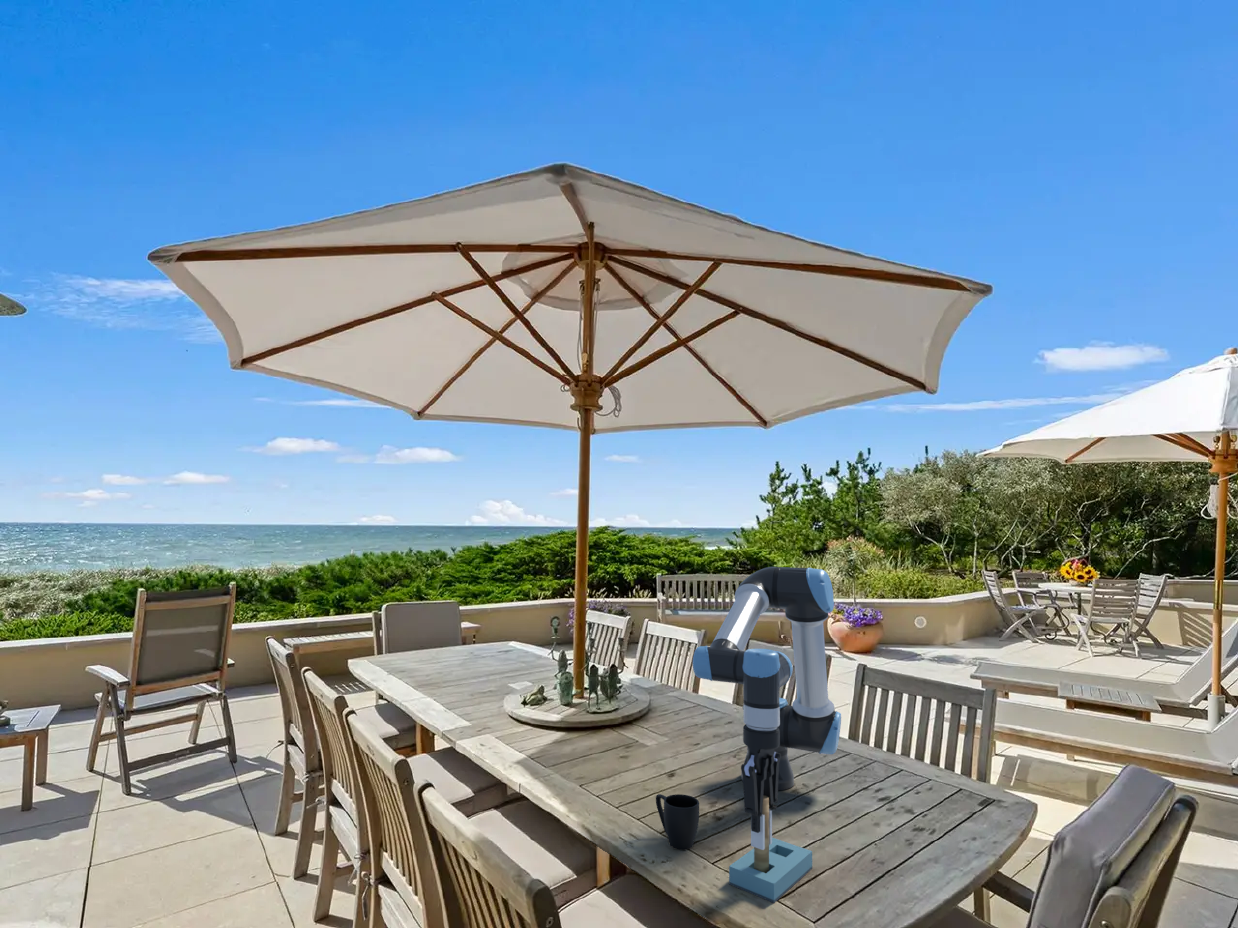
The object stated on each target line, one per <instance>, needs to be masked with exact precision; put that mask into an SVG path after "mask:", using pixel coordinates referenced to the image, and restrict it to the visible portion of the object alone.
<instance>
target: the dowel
mask: <svg viewBox="0 0 1238 928" xmlns="http://www.w3.org/2000/svg"><path fill="white" fill-rule="evenodd" d="M762 814H763V815H765V849H764V850H761V849H758V848H756V847H753V848H754V869H756V870H758V871H761V872H763V873H767V872H769V798H768V797H767V796H765V795H763V810H762Z"/></svg>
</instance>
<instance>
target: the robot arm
mask: <svg viewBox="0 0 1238 928" xmlns="http://www.w3.org/2000/svg"><path fill="white" fill-rule="evenodd" d="M834 602H835V600H834V590H833V585H832V581H831V578H830V575H829V573H828V572H826V570H824V569H821V568H812V567H790V566H789V567H786V566H783V567H782V566H769V567H768V566H767V567H764V568H762V569H759V570H756V571H755V572H753V573H751V574H749V576H747V577H746V578H745V579H743V581H742V582H740V584H739V586H738V587H737V589H736V590H735V593H734V602H733V604H732V606H731V607H730V609H729V611H728V613H727V615H726V617H725V619H724V621H723V622H722V624H721V626H720V628H719V629H718V631H717V634H716V635H715V637H714V639H713V641H712V642H711V644H710V645H709V646H708V645H704V646H703V645H700V646H698V647H696V649H694V652H693V657H692V669H693V673H694V675H695V677H696V678H699V679H702V680H708V681H710V682H713V681H714V682H723V683H731V684H739V685H742V688H743V690H742V691H743V695H742V696H743V697H742V698H743V701H742V702H743V706H742V710H743V723H744V725H743V727H742V731H743V732H742V734H743V735H742V742H743V743H744V745H745V746H746V747H747V749H746V751H747V752H746V755H745V757H744V761H743V763H742V764H741V765H740V770H741V777H740V779H741V781H742V785H743V786H742V787H743V805H744V813H747V814H749V815H750V846H751V847H753V848H754V847H756V848H758V849H761V850H764V849H765V815H763V814H762V810H763V795H765V796H767V797H768V798H769V844H770V845H771V844H772V838H773V810H774V811H776V810H777V808H778V806H777V805H776V804H777V803H778V798H779V795H778V794H779V791H784V790H789V789H791V788H792V787H794V784H795V774H794V772H793V768H792V765H791V763H790V759H789V755H788V749H793V750H800V751H805V752H810V753H817V754H819V755H821V754H824V755H833V754H835V753H837V749H838V747H839V746H838V745H839V740H840V733H841V725H842V713H841V712H840V711H835V710H836V709H835V705H834V703H833V701H832V700H830V699H829V691H828V677H827V676H828V675H827V663H826V661H827V660H826V659H827V658H826V644H825V643H826V642H825V629H824V622H825V621H826V620H828V618H829V613H832V612H833V611H834V607H835V603H834ZM767 609H778V610H779V609H780V610H784V611H785V612H784V613H785V618H786V619H787V620H788V621H789V622H791V631H792V632H791V634H792V646H793V647H792V648H793V660H794V668H793V664H792V663H793V662H792V661H791V660H790V657H788V656H787V655H786V654H785V653H784V652H781V651H777V650H773V649H768V648H748V649H746V650H745V648H746V646H747V644H748V641H749V639H750V637H751V636H752V633H753V631H754V628H755V626H756V624H757V623H758V620H759V619H760V616H761V615H762V614H764V613H765V612H767ZM793 669H794V673H795V687H796V698H795V699H794V700H793V701H792V703H791V705H789V702H788V701H787V699H786V698H783V697H780V688H781V687H783V686H785V685H786V684H787V683H788V682H789V680H790V678H791V677H792V676H793Z"/></svg>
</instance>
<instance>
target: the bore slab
mask: <svg viewBox="0 0 1238 928" xmlns="http://www.w3.org/2000/svg"><path fill="white" fill-rule="evenodd" d="M812 869H813V851H812V850H810V849H807V848H804V847H801V846H798V845H795V844H792V843H790V842H787V841H784V840H781V839H778V838H775V837H772V844H771V845H770V844H769V872H767V873H763V872H761V871H758V870H756V869H754V847H753V848H752V849H751V850H749V851H748V852H747V853H745V854H743V856H741V857H739V858H738V859H737V860H735V861H734V862H732V863H731V864H729V867H728V871H729V872H728V876H729V878H728V884H729V886H732V887H735V888H737V889H739V890H742V891H743V892H747V893H749V894H752V895H754V896H756V897H759V898H761V899H763V900H766V901H768V902H771V903H773V904H775V903H776V902H777V901H778V900H779V899H780V898H782V896H784V895H785V894H786V893H788V891H789V890H790V889H791V888H793V886H795V885H796V884H797V883H798V882H799V881H801V879H802V878H803V877H805V876H806V875H807V874H808V873H809V872H810V871H811V870H812Z"/></svg>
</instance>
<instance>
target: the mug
mask: <svg viewBox="0 0 1238 928" xmlns="http://www.w3.org/2000/svg"><path fill="white" fill-rule="evenodd" d="M662 800H663V806H662ZM655 804H656V805H655V806H656V808H657V811H658V816H659V818H660V822H661V824H662V827H663V831H664V832H665V834H666V836H667V840H668V845H669V847H671V848H672V849H673V850H678V851H688V850H690V849H692V848H693V847H694V844H695V843H694V842H695V839H696V838H697V837H696V836H697V833H698V828H699V821H700V800H699V799H697V798H696V797H694V796H692V795H689V794H680V793H679V794H678V793H677V794H670V795H668V796H666V795H664V794H661V793H660V794H657V795H656V796H655Z"/></svg>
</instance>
